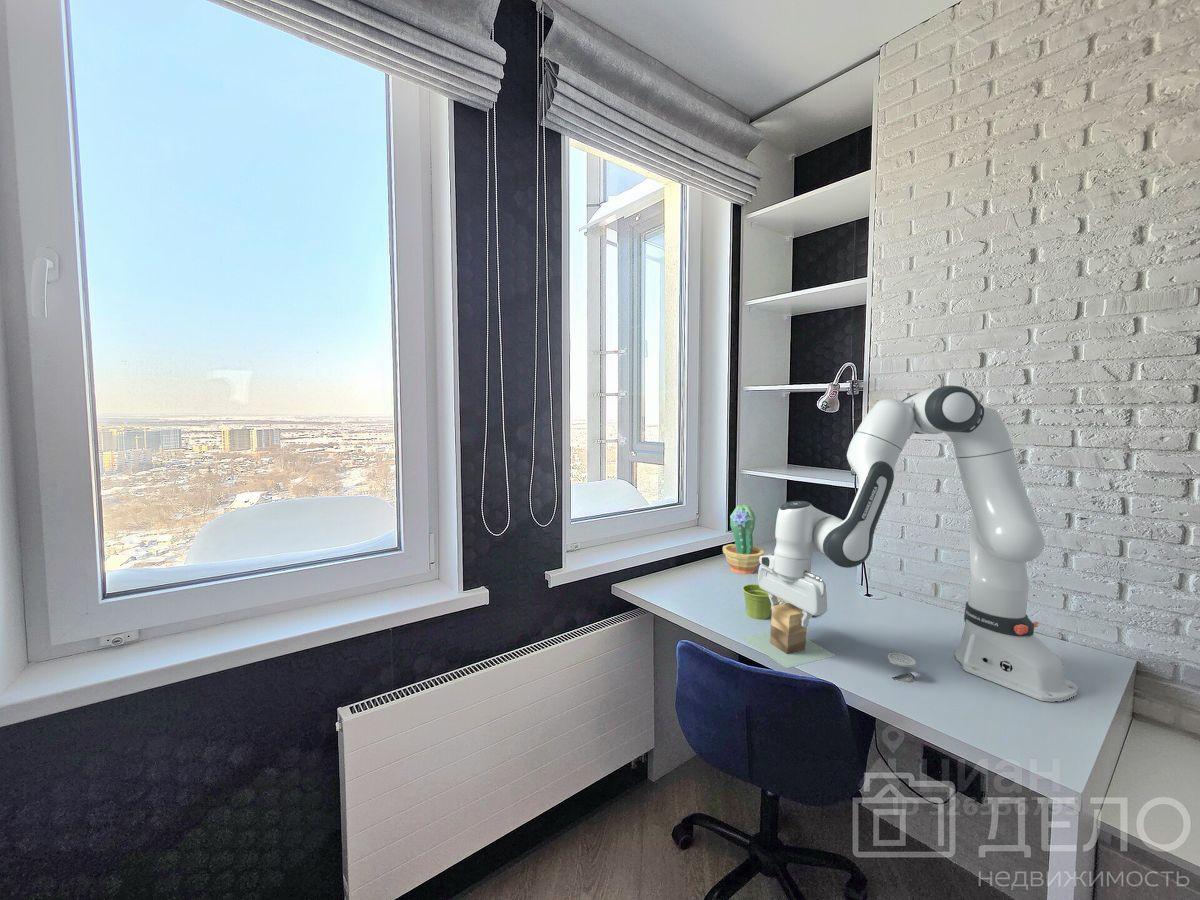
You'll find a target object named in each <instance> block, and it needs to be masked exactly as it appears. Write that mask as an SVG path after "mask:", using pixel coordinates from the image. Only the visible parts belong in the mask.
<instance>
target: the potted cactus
mask: <svg viewBox="0 0 1200 900" xmlns="http://www.w3.org/2000/svg"><path fill="white" fill-rule="evenodd" d="M729 518H730V521H729V522H730V524H729V525H730V529H731V530H732V535H733V539H734V543H730V544H726V545H723V546H722V553H723V554H724V555H725V559H726V561H727V563H728V565H729V569H730V571H731V572H733V573H737V574H740V575H742V574H743V575H747V574H748V575H751V574H753V573H755V569H756V567H757V566H758V565H759V564H760V562H759V558H760V556H764V554H765V552H764V549H762V548H761V547H758V546H755V545H754V542H753V539H754V537H753V533H754V530H755V525H756V515H755V513H754V511H753V510H752V508H751V507H750V505H746V504H742V505H741V504H738V505H736V507H735V508H734V510H733V511H732V513H731V514H730V516H729Z"/></svg>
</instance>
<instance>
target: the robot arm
mask: <svg viewBox="0 0 1200 900" xmlns="http://www.w3.org/2000/svg"><path fill="white" fill-rule="evenodd" d="M943 433H944V434H946V435H947V436H948V437H949V439H950V440H951V442H952V444H953V447H954V453H955V456H956V462H957V465H958V470H959V473H960V477H961V481H962V485H963V489H964V491H965V494H966V497H967V499H968V503H969V504H970V507H971V511H972V513H971V514H970V518H969V561H970V562H969V563H970V574H969V575H970V576H969V589H968V597H967V598H968V599H967V601H966V602H965V606H964V608H965V609H964V615H963V620H964V621H963V622H964V628H963V631H962V632H963V633H962V635H961V639H960V641H959V645H958V647H957V649H956V650H955V652H954V656H955V659H956V660H957V661H958V662H959V663H960V664H961V665H962V666H961V667H962V670H963V671H965V672H967V673H969V674H972V675H975V676H977V677H978V678H982V679H985V680H987V681H990V682H991V683H995V684H998V685H1000V686H1003V687H1005V688H1008V689H1010V690H1013V691H1015V692H1018V693H1020V694H1023V695H1026V696H1029V697H1031V698H1033V699H1036V700H1039V701H1043V702H1048V703H1050V702H1052V703H1053V702H1055V701H1058V702H1064V701H1067V700H1066V699H1068V700H1070V699H1072V698H1074V697H1075V696H1074V695H1075V694H1076V693H1077V694H1078V687H1077V684H1076V683H1074V682H1073V681H1071V680H1069V679H1067V678H1066V676H1065V667H1064V664H1063V662H1062V661H1063V660H1061V658H1060V657H1059V656H1058V655H1057V654H1055V653H1054V652H1053V650H1052V649H1050V648H1049V647H1048V646H1047V645H1046V643H1044V642H1043V641H1042V640H1041V639H1040V638H1039V637H1038V636H1037V635H1036V634H1035V633H1034V632H1035V631H1034V630H1035V628H1037V627H1039V623H1040V622H1039V621H1034V622H1032V620H1031V619H1030V618H1029V616H1028V614H1027V609H1028V598H1029V589H1030V588H1029V587H1030V580H1029V577H1028V571H1027V570H1028V569H1027V562H1031V561H1034V560H1035V559H1037V558H1038V557H1039V556H1040V555H1041V554H1042V553H1043V551H1044V549H1045V538H1044V537H1045V536H1044V535H1043V532H1042V529H1041V528H1040V525H1039V521H1038V519H1037V516H1036V514H1035V513H1036V512H1035V511H1034V508H1033V505H1032V503H1031V500H1030V498H1029V495H1028V493H1027V491H1026V489H1025V487H1024V484H1023V481H1022V478H1021V474H1020V473H1021V472H1020V470H1019V467H1018V461H1017V458H1016V454H1015V450H1014V447H1013V443H1012V440H1011V437H1010V435H1009V431H1008V429H1007V427H1006V425H1005V423H1004V420H1003V419H1002V417H1001V415H1000V413H999V412H998V411H997V410H995V409H993V408H991V407H986V406H983V405H982V404H981V403H980V401H979V399H978V398H977V396H976V395H975V394H974V392H972V391H971V390H969V389H968V388H965V387H962V386H959V385H945V386H944V385H943V386H939V387H931V388H928V389H925V390H923V391H920V392H916V393H913V394H911V395H909V396H907V397H905V398H904V399H903V400H900V399H897V398H896V399H895V398H883V399H881V400H879V401H877V402H876V403H875V404H874V405H873V406H872V407H871V408H870V410H869V412H868V413H867V414H866V415H865V416H864V418H863V420H862V421H861V423H860V424H859V426H858V427H857V429H856V431H855V433H854V435H853V437H852V439H851V441H850V443H849V445H848V448H847V452H846V459H847V461H848V464H849V466H850V468H851V469H852V471H854V473H855V474H856V476H857V480H858V489H857V492H856V495H855V497H854V500H853V501H852V504H851V507H850V509H849V511H848V514H847V516H846V517H845V519H841V518H839V517H837V516H835V515H832V514H829V513H827V512H824V511H822V510H821V509H818V508H816V507H814V505H812V503H810V502H809V501H804V500H794V501H793V500H791V501H787V502H785V503H783V504H782V505H780V507H779V508H778V511H777V515H776V522H775V531H774V536H775V540H776V541H775V544H776V545H775V548H774V550H773V553H769V554H765V555H764V554H763V556H760V558H759V564H760V565H759V567H758V573H757V583H758V584H759V587H760V588H761V589H762V590H764V591H766V592H768V593H769V599H770V602H771V609H770V610H772V606H776V605H780V604H779V603H778V599H777V597H778V598H780V599H782V600H784V601H786V602H788V603H790V604H792V605H794V606H796V607H798V608H800V609H802V610H803V612H802V613H803V614H804V616H803V618H799V625H801V626H802V627H808V626H809V623H810V622H809V621H810V620H811V618H812V617H813V616H815V617H816V616H820V615H824V614H826V613H827V611H828V597H827V589H826V588H827V586H826V585H827V584H826V583H825V582H824V580H823V579H822V577H821V576H820V575H816V574H814V573H812V560H813V559H812V556H813V553H814V552H819V553H821V554H822V555H825V557H827V558H828V559H829V560H830V561H831V562H832V563H834V564H835V565H836V566H838V567H840V568H847V569H849V568H854V567H855V568H856V567H857V566H858V567H859V566H860V565H861V564H863V563H864V562H865V561H866V560H868V558H869V556H870V554H871V552H872V550H873V540H874V536H875V535H874V534H875V531H876V527H877V524H878V522H879V520H880V517H881V515H882V513H883V510H884V507H885V506H886V502H887V500H888V498H889V496H890V492H891V489H892V487H893V484H894V479H895V474H894V473H895V469H896V465H897V462H898V460H899V457H900V455H901V453H902V451H903V450H904V448H905V446H906V443H907V442H908V440H909V439H910V437H911V436H912V435H913V434H917V435H923V434H926V435H938V434H943ZM812 615H813V616H812ZM1077 694H1076V695H1077ZM1073 696H1074V697H1073ZM1071 697H1072V698H1071ZM1069 698H1070V699H1069ZM1063 700H1064V701H1063Z"/></svg>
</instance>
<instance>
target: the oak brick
mask: <svg viewBox="0 0 1200 900" xmlns="http://www.w3.org/2000/svg"><path fill="white" fill-rule="evenodd" d="M802 612H803V610H802V609H800V608H798V607H796V606H794V605H792V604H790V603H786V604H781V605H776V606H772V609H771V616H770V617H771V619H770V620H771V622H770V626H771V625H772V626H774V627H776V628H777V629H779V630H781V631H783V632H784V633H786V634H788V635H790V634H795V633H799V632H804V631H806V632H807V630H808V629H807V627H808V626H807V627H802V626H801V625H799V618H803V616H804V614H803V613H802Z"/></svg>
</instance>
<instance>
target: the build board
mask: <svg viewBox="0 0 1200 900" xmlns="http://www.w3.org/2000/svg"><path fill="white" fill-rule="evenodd" d="M770 632H771V631H769V632H764V633H759V634H755V635H749V636H745V637H741V639H742V640H744V641H745V642H747V643H748V644H750V645H751V646H752V647H754V648H755V649H757V650H759V651H760V652H762V653H763V654H764V655H766V656H767V657H769V658H770V659H772V660H774V661H775V662H777V664H779V665H781V666H782V667H784V668H785V669H789V668H793V667H794V668H795V667H797V666H801V665H805V664H809V663H814V662H817V661H822V660H825V659H828V658H832V657H833V658H834V657H836V656H837V655H836V654H834V653H832V652H830V651H829V650H827V649H826V648H823V647H822V646H820V645H818V644H816V643H815V642H813V641H811V640H810V639H808V638H806V645H805V650H802V651H798V652H794V653H790V654H786V653H784V652H783V651H781V650H780V649H778V648H777V647H775V646H773V645H772V644H770Z"/></svg>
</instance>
